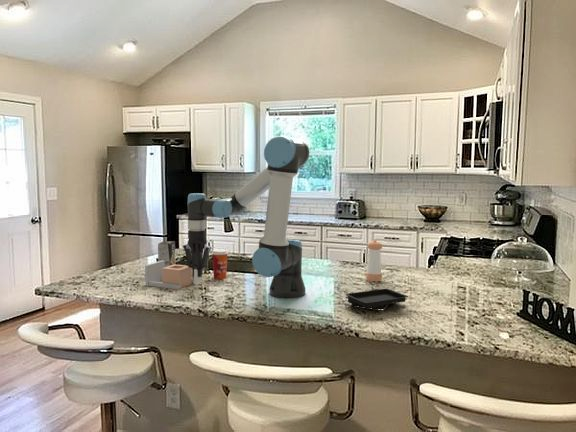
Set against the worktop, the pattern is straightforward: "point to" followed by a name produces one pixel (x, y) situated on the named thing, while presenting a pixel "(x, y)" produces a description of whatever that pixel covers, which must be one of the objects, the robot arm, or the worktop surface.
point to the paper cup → (219, 263)
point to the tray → (375, 298)
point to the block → (177, 275)
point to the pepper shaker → (374, 262)
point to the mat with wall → (157, 276)
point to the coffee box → (167, 252)
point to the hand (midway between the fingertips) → (197, 284)
